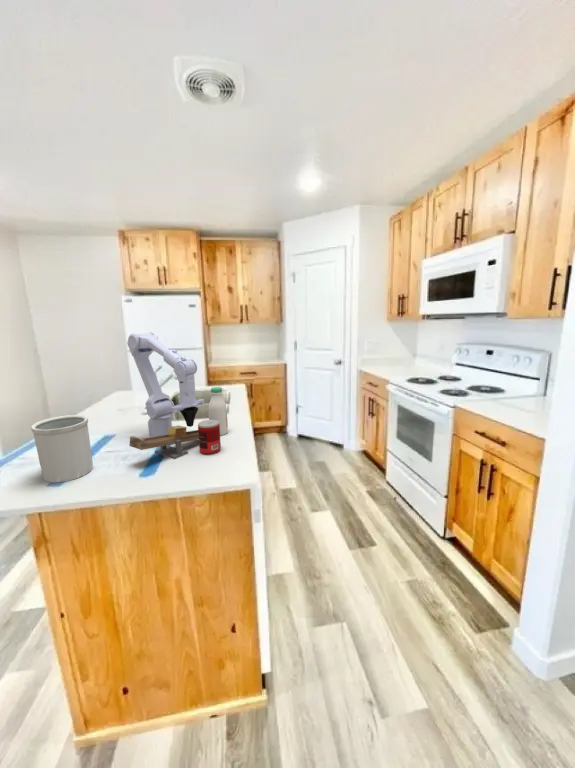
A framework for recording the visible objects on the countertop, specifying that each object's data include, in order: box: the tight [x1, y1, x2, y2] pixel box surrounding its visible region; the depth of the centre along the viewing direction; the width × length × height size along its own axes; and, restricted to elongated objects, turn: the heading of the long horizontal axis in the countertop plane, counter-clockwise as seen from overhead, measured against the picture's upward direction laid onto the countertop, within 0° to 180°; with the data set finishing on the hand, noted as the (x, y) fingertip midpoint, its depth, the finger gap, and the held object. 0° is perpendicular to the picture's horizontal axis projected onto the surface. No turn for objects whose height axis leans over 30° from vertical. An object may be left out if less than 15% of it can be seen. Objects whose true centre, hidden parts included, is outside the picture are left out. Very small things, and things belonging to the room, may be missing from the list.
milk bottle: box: [207, 386, 229, 436], centre depth 142 cm, size 8×8×20 cm
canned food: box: [197, 419, 222, 455], centre depth 124 cm, size 8×8×11 cm
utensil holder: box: [31, 414, 94, 484], centre depth 107 cm, size 15×15×18 cm
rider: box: [168, 425, 188, 438], centre depth 125 cm, size 4×5×4 cm
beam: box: [129, 429, 199, 451], centre depth 124 cm, size 7×32×3 cm, turn 148°
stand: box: [154, 440, 189, 460], centre depth 123 cm, size 11×6×6 cm, turn 58°
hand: (190, 426), depth 130 cm, fingers closed
